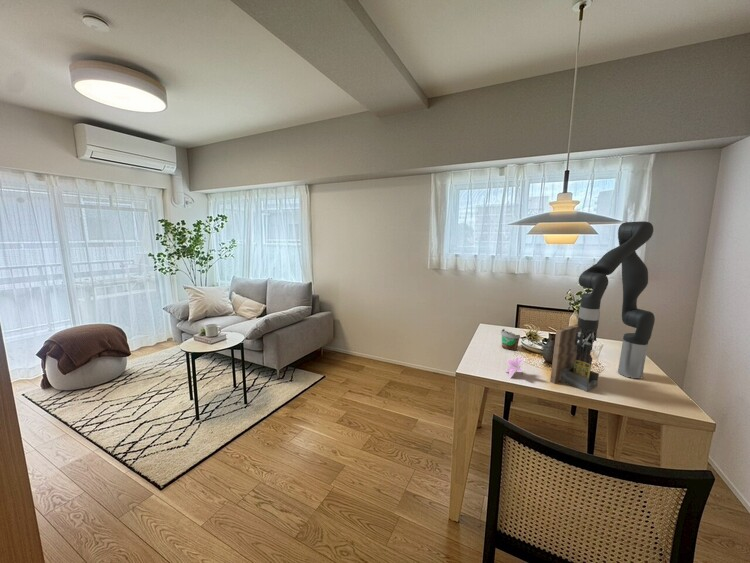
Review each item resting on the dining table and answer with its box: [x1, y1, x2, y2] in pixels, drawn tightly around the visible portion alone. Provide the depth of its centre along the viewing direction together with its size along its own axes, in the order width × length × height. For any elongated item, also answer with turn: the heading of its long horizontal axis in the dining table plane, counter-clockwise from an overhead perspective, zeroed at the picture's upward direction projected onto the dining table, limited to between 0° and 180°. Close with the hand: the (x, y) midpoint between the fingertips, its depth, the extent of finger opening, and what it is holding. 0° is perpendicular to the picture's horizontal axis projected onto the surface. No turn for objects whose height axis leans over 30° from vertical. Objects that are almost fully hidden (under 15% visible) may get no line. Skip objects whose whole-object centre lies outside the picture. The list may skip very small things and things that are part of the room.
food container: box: [500, 328, 521, 352], centre depth 178 cm, size 12×6×10 cm, turn 25°
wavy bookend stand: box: [549, 324, 600, 392], centre depth 137 cm, size 20×13×25 cm, turn 121°
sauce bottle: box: [573, 342, 593, 378], centre depth 136 cm, size 7×6×20 cm
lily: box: [505, 354, 526, 379], centre depth 145 cm, size 12×12×10 cm
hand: (584, 351), depth 135 cm, fingers open, 8 cm apart
